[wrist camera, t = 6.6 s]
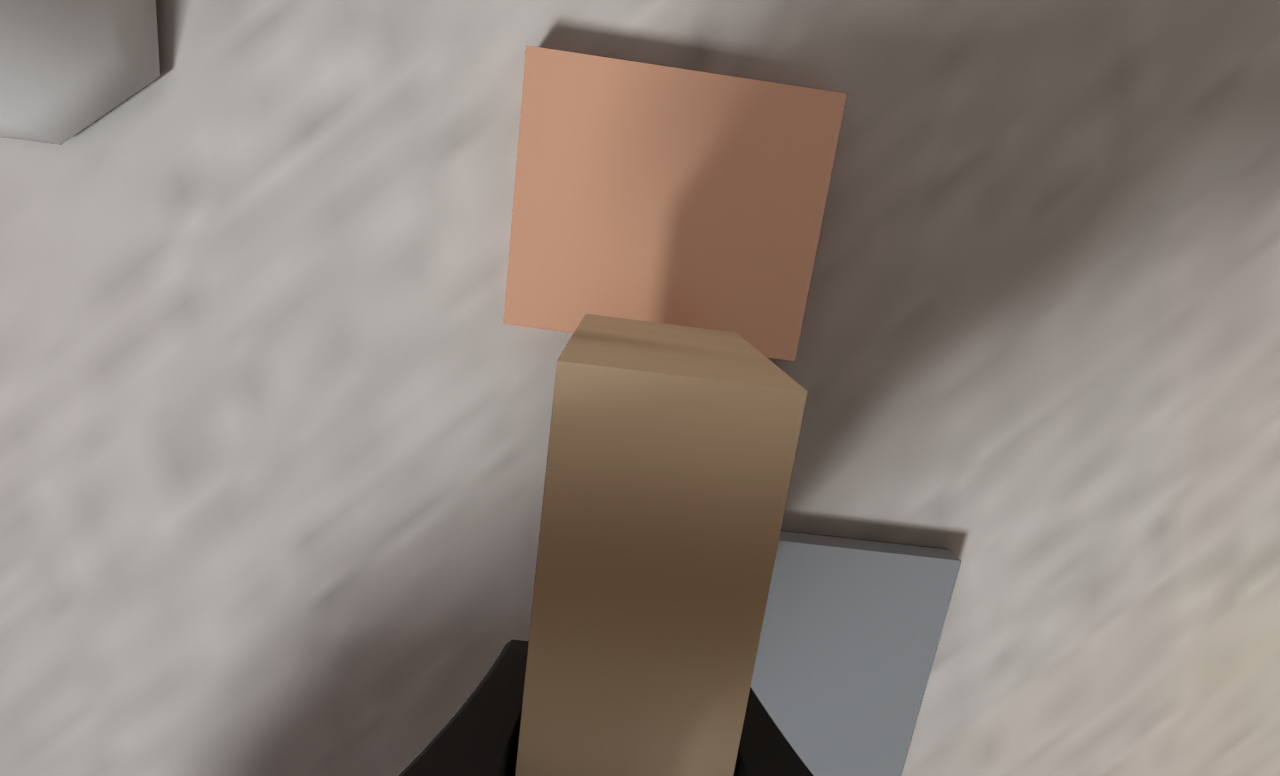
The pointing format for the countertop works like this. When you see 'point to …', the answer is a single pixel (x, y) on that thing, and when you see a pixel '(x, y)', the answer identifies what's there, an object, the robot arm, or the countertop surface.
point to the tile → (667, 197)
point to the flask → (71, 63)
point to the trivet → (850, 648)
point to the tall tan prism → (654, 549)
